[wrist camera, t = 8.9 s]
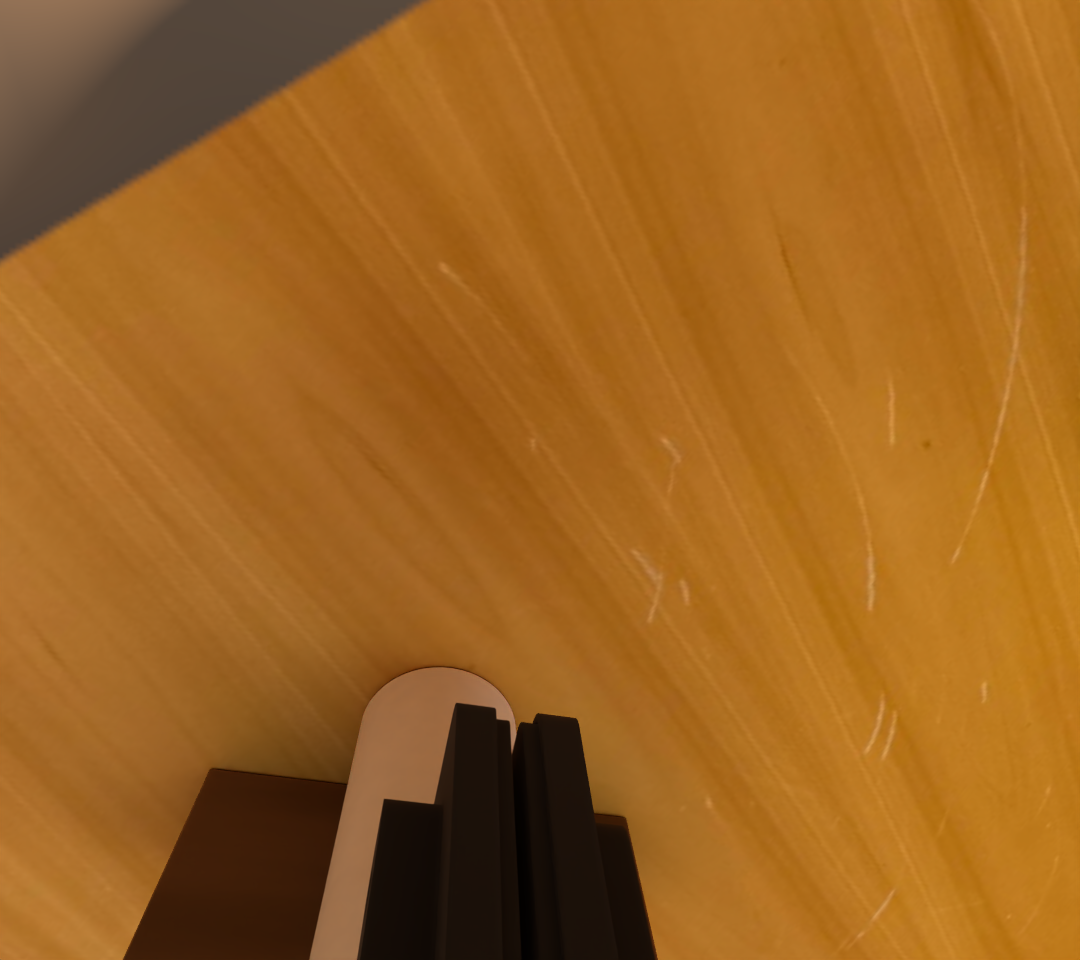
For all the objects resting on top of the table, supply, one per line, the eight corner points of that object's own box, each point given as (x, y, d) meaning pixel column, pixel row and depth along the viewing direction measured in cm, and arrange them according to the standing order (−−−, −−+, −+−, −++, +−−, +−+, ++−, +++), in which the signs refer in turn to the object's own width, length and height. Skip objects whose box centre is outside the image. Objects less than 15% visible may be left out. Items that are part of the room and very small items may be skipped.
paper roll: (374, 652, 27) (356, 680, 17) (519, 673, 28) (590, 713, 17) (321, 945, 26) (261, 1189, 15) (475, 960, 26) (525, 1203, 16)
